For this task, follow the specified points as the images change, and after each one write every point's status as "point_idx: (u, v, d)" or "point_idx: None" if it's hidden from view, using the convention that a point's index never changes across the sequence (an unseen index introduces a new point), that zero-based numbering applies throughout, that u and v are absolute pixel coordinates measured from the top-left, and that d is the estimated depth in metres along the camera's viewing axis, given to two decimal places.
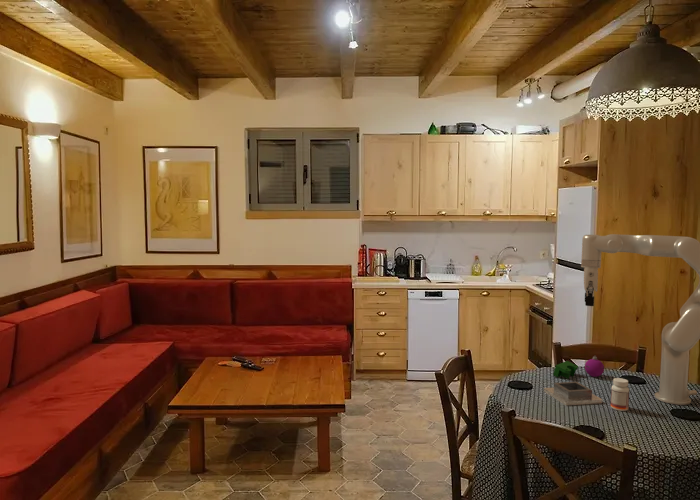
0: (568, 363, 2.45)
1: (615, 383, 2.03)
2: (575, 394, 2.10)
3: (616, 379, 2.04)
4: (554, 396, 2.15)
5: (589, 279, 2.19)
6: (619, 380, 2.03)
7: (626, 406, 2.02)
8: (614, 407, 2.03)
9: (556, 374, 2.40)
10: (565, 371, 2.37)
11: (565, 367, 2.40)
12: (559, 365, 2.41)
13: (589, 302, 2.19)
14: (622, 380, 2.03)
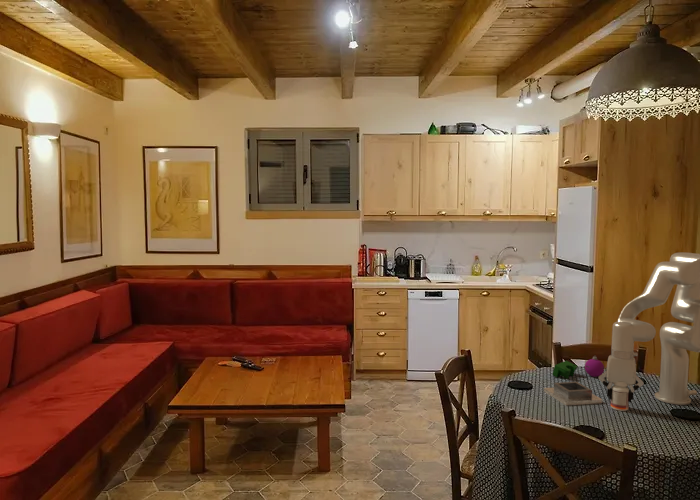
0: (567, 363, 2.45)
1: (615, 383, 2.03)
2: (575, 394, 2.10)
3: None
4: (554, 396, 2.15)
5: None
6: None
7: (626, 406, 2.02)
8: (614, 407, 2.03)
9: (555, 374, 2.41)
10: (564, 371, 2.38)
11: (564, 367, 2.40)
12: (558, 365, 2.41)
13: (632, 397, 2.02)
14: None
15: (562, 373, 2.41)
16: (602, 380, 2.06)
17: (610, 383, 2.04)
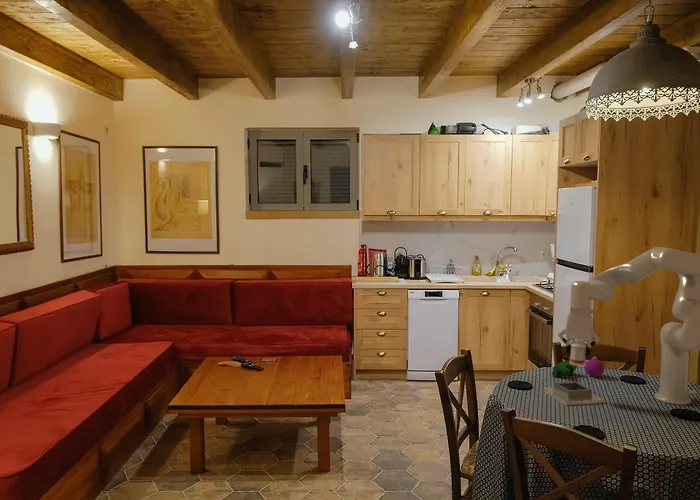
0: (567, 363, 2.45)
1: (573, 339, 2.12)
2: (575, 394, 2.10)
3: None
4: (554, 396, 2.15)
5: None
6: None
7: (583, 361, 2.11)
8: (572, 362, 2.12)
9: (554, 373, 2.41)
10: (564, 371, 2.38)
11: (564, 367, 2.40)
12: (558, 365, 2.41)
13: None
14: None
15: (561, 373, 2.41)
16: (561, 337, 2.15)
17: (569, 340, 2.13)
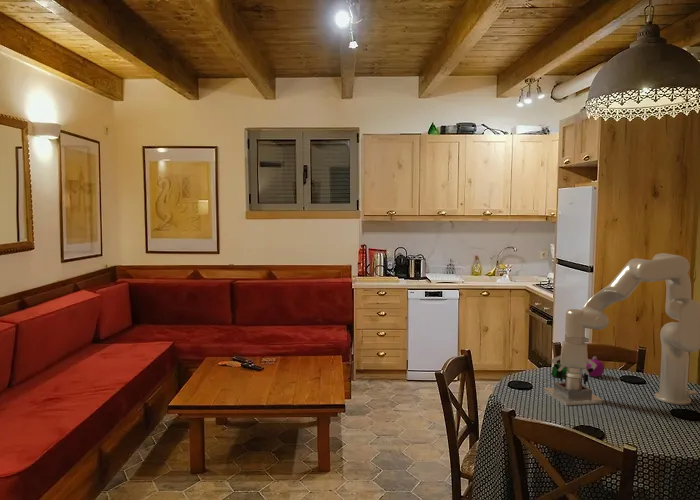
0: None
1: (569, 369, 2.14)
2: (575, 394, 2.10)
3: None
4: (554, 396, 2.15)
5: (587, 356, 2.12)
6: None
7: None
8: None
9: (554, 373, 2.41)
10: (563, 371, 2.38)
11: None
12: None
13: (587, 379, 2.13)
14: None
15: None
16: (554, 363, 2.17)
17: (562, 366, 2.16)
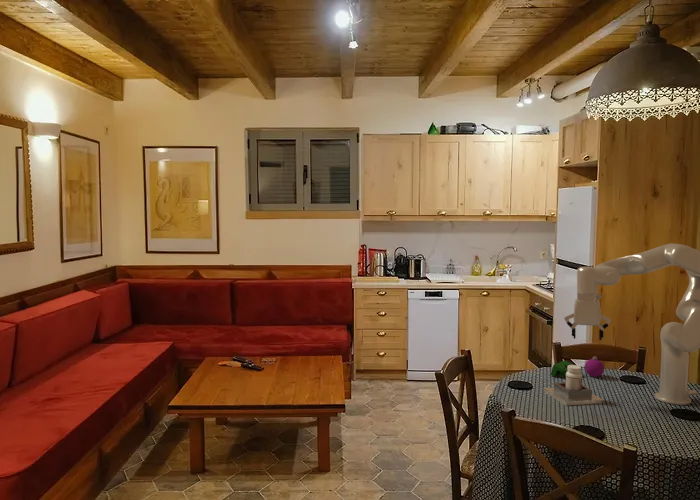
0: (566, 362, 2.46)
1: (569, 369, 2.14)
2: (575, 394, 2.10)
3: (570, 366, 2.16)
4: (554, 396, 2.15)
5: (600, 312, 2.12)
6: (573, 366, 2.15)
7: None
8: None
9: (553, 373, 2.41)
10: (563, 370, 2.38)
11: (563, 366, 2.41)
12: (557, 364, 2.42)
13: None
14: (575, 367, 2.15)
15: (560, 373, 2.42)
16: (567, 321, 2.17)
17: (575, 324, 2.15)
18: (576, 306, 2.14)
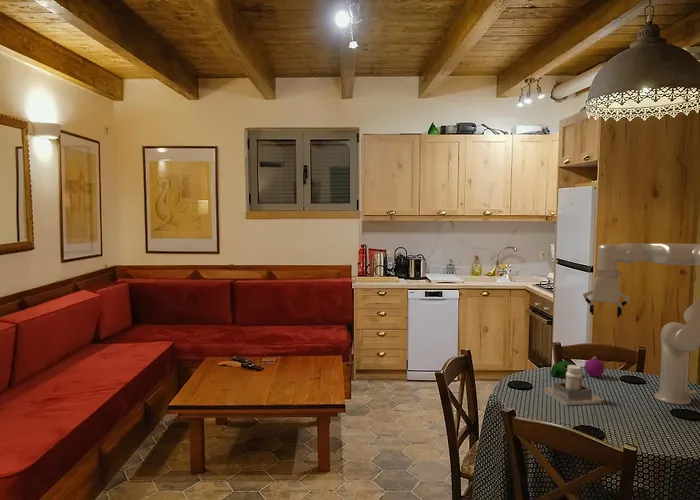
0: (565, 362, 2.46)
1: (569, 369, 2.14)
2: (575, 394, 2.10)
3: (570, 366, 2.16)
4: (554, 396, 2.15)
5: None
6: (573, 366, 2.15)
7: None
8: None
9: (553, 373, 2.41)
10: (562, 370, 2.38)
11: (562, 366, 2.41)
12: (556, 364, 2.42)
13: None
14: (575, 367, 2.15)
15: (560, 373, 2.42)
16: (586, 297, 2.19)
17: (593, 300, 2.17)
18: (595, 283, 2.16)
